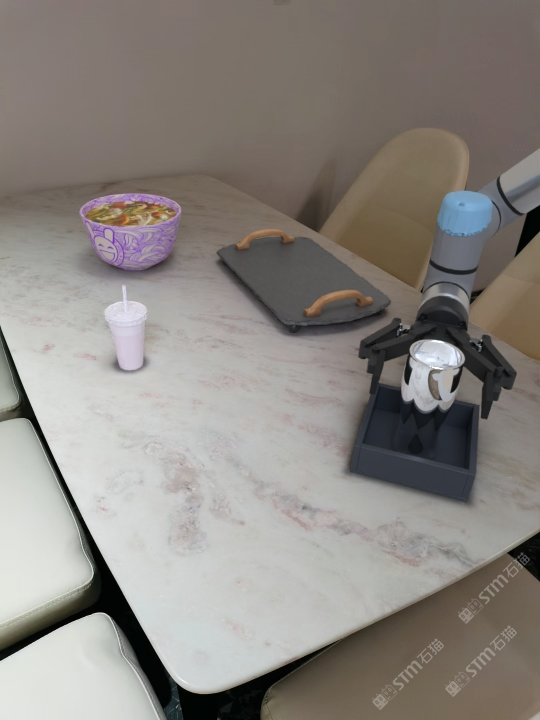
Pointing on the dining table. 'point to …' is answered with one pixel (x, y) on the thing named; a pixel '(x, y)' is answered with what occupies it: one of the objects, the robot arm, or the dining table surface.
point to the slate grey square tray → (438, 476)
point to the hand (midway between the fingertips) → (428, 397)
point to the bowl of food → (132, 228)
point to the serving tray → (301, 280)
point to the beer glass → (427, 396)
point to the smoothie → (127, 331)
